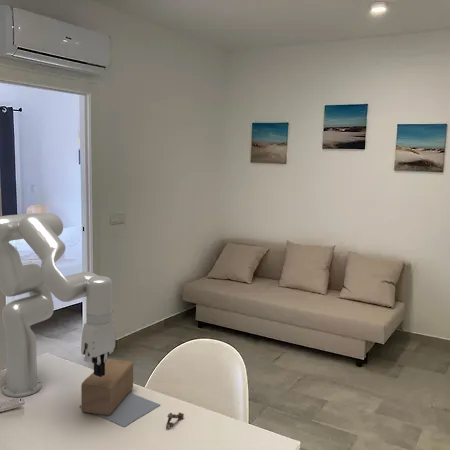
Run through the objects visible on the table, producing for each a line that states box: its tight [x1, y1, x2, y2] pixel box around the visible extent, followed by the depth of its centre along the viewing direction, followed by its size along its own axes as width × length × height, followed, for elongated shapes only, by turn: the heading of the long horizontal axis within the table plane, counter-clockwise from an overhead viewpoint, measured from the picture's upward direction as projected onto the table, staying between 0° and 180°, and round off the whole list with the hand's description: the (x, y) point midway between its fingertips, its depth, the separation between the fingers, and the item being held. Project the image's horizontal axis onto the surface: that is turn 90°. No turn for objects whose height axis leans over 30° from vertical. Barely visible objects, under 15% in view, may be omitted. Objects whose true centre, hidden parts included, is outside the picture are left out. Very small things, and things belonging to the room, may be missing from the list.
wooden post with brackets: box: [165, 411, 185, 430], centre depth 153 cm, size 2×8×4 cm, turn 152°
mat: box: [79, 391, 161, 428], centre depth 163 cm, size 20×16×1 cm
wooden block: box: [80, 358, 134, 415], centre depth 165 cm, size 10×10×20 cm
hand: (99, 374), depth 153 cm, fingers closed
